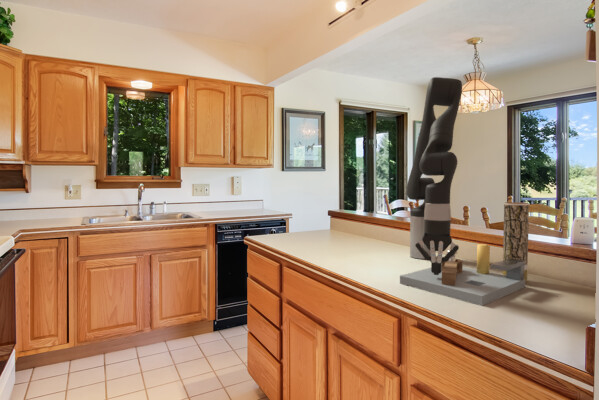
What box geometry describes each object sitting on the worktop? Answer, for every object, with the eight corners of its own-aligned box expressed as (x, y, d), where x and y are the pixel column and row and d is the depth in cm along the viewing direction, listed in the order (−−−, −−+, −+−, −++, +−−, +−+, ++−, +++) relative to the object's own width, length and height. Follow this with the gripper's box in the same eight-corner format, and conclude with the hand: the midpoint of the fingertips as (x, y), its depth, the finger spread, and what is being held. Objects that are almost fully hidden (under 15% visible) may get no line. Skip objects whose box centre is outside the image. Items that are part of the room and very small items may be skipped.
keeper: (509, 284, 114) (510, 258, 113) (523, 287, 111) (524, 260, 110) (490, 292, 107) (491, 264, 106) (504, 295, 103) (505, 266, 103)
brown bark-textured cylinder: (518, 284, 114) (520, 204, 112) (497, 279, 120) (499, 202, 118) (531, 281, 117) (533, 203, 115) (510, 276, 123) (512, 202, 121)
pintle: (449, 276, 124) (450, 249, 123) (458, 278, 121) (459, 250, 121) (444, 278, 122) (445, 250, 121) (453, 280, 119) (454, 251, 119)
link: (442, 267, 126) (442, 257, 125) (462, 269, 123) (462, 259, 123) (436, 283, 107) (436, 271, 107) (459, 285, 104) (460, 273, 104)
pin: (480, 270, 121) (480, 243, 121) (491, 272, 118) (491, 245, 118) (474, 272, 119) (475, 244, 119) (485, 274, 116) (486, 246, 116)
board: (445, 270, 132) (445, 263, 132) (524, 287, 111) (525, 278, 111) (399, 283, 116) (399, 275, 116) (482, 305, 96) (482, 296, 95)
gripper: (413, 218, 111) (412, 275, 112) (461, 220, 106) (459, 279, 107) (415, 216, 118) (415, 269, 119) (460, 217, 113) (459, 273, 114)
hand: (436, 274), depth 113 cm, fingers closed
